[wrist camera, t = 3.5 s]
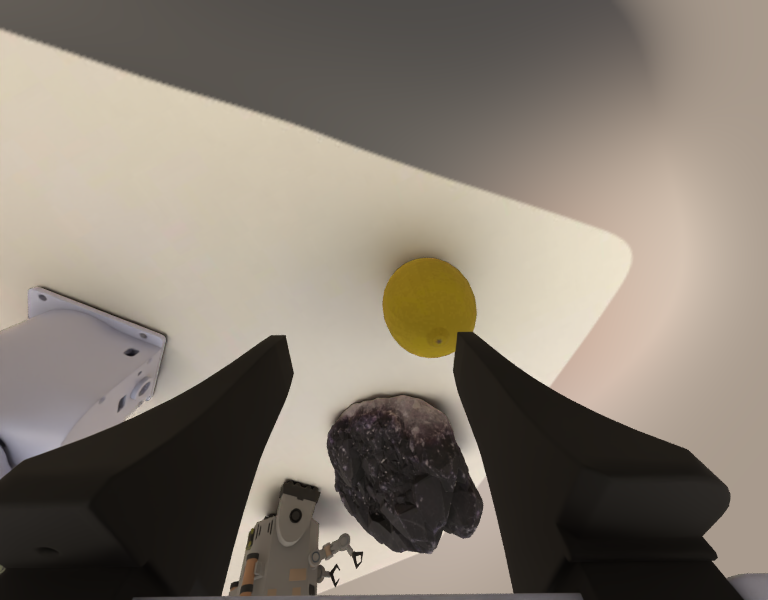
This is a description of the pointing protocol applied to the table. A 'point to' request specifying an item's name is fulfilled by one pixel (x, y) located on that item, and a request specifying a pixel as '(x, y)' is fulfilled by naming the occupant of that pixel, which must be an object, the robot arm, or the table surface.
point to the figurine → (288, 549)
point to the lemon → (428, 307)
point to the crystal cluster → (403, 473)
